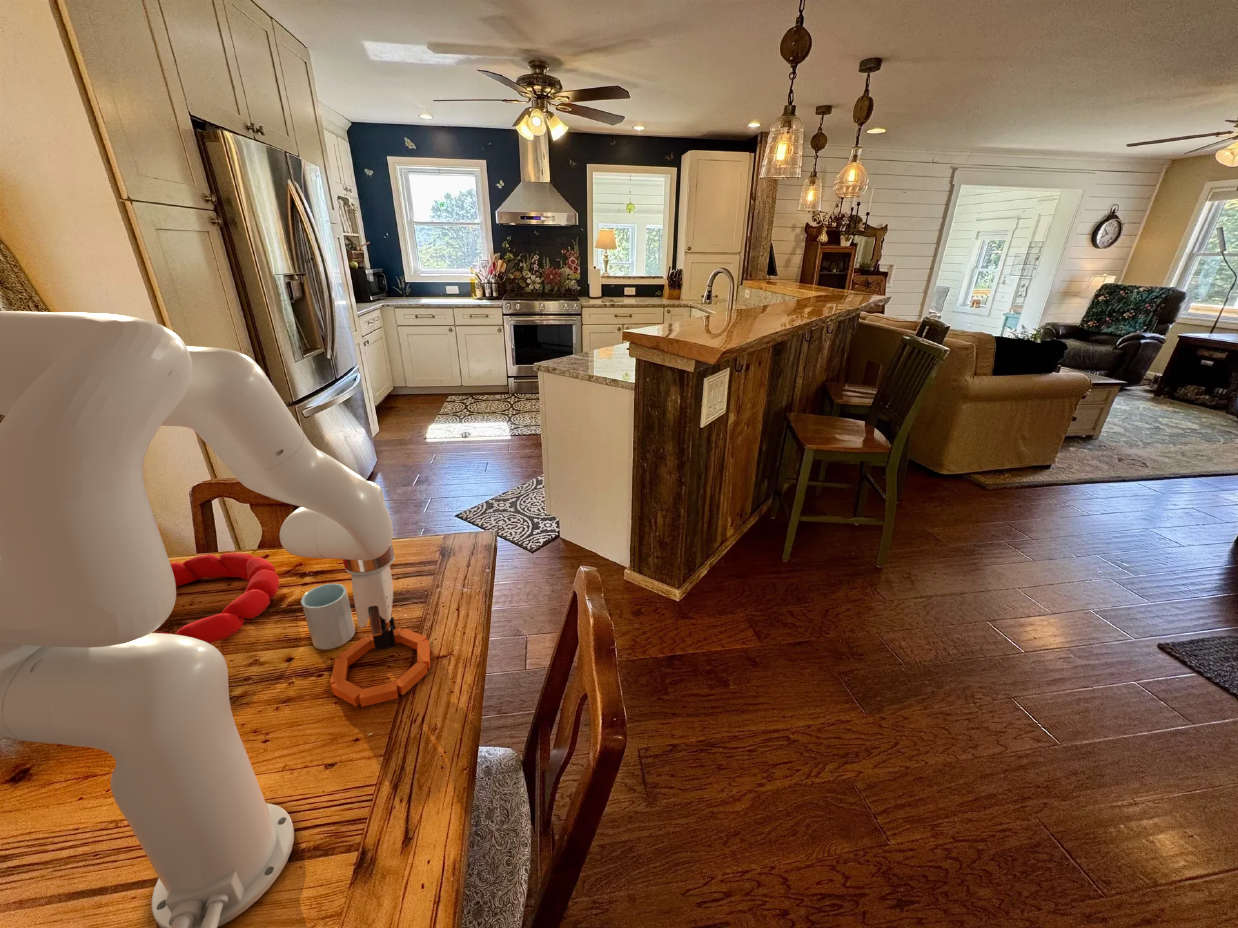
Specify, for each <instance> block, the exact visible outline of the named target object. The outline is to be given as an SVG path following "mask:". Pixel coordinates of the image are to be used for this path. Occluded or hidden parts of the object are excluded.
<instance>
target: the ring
mask: <svg viewBox="0 0 1238 928" xmlns="http://www.w3.org/2000/svg"><path fill="white" fill-rule="evenodd" d="M393 632H394V637H395V642H396V643H395V645H396V644H402V645H405V646H407V647H409V648H411V649H413V650H416V652H417V654H416V662H415V664H413V665H412V666H411V667H409V669H408V670H406V671H405V672H404V673H403V674H402V675H401V676H400V677H399V678H397V679H396V680H395V681H391V682H388V683H382V684H379V685H375V686H370V687H365V688H362V687H359V686H358V685H356V684H354V683H352V682H350V681H348V680H347V679H348V678H347V677H348V673H349V668H350V666H351V665H352V664H354V663H355V662H356V661H358V660H359V659H360V658H362V657H363V656H364V655H365V654H367V653H368V652H369V651H370V650H372V649H375V644H374V639H373V635H372V633H368V637H367V636H363V637H361V638H360V639H359V640H358V641H356V642H355V643H354V644H352V645H351V646H349V647H347V649H345V650H344V651H343V652H341V653H340V654H338V655H337V657H338V658H335V660H334V663H333V668H332V670H331V671H332V672H331V676H330V681H329V685H330V690H331V691H332V694H333V695H334V696H336V697H337V698H339V699H341V700H343V701H345V702H347V703H348V704H350V705H352V706H354V707H358V706H359V705H360V707H361V708H365V707H367V706H368V707H369V706H371V705H375V704H380V703H384V702H387V701H393V700H397V699H399V694H400V695H402V696H404V695H405V694H407V693H408V692H409V691H410V690H411V689H412V688H413V687H414V686H415V685H416V684H417V683H418V682H420V681H421V680H422V679H423V678H424V677H425V676H426V675H427V674H428V673H429V671H428V670H430V669H431V646H430V640H429V639H428V637H427V636H425V635H421V634H420V633H417V632H415V631H413V630H411V629H408V628H404V629H402V628H401V627H399V628H398V627H397V628H396V629H393Z"/></svg>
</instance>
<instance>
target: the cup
mask: <svg viewBox="0 0 1238 928" xmlns="http://www.w3.org/2000/svg"><path fill="white" fill-rule="evenodd" d="M300 604H301V608H302V611H303V616H304V618H305V619H304V620H305V622H306V626H307V629H308V632H309V636H310V640H311V642H312V645H313V647H314V648H316V649H318V650H332V649H335V648H339V647H342V646H344V644H346V643H347V642H349V641H350V640H352V638H353V637H354V636H355V633H356V626H355V622H354V621H355V620H354V617H353V612H352V609H351V604H350V599H349V595H348V591H347V588H346V586H345V585H344V584H341V583H335V582H333V583H326V584H321V585H318V586H315V587H314V588H311V589H310V590H308V591H306V593H304V595H302V597H301V600H300Z"/></svg>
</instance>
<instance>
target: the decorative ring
mask: <svg viewBox="0 0 1238 928" xmlns="http://www.w3.org/2000/svg"><path fill="white" fill-rule="evenodd" d="M170 564H171V567H172V570H173V574H174V578H175V584H176V588H178V587H181V586H184V585H187V584H190V583H193V582H195V581H199V580H202V579H205V578H206V579H216V578H218V579H219V578H240V579H243V580H245V581H247V582H248V585H247V586H246V588H245V591H244V593H242V594H241V595H239V596H237V597H236V598H235V599H234V600H233V601H231V602H230V603H228V605H226V606H225V607H224V608H223V610H222V611H221V612H220V613H217V614H213V615H210V616H206V617H203V618H200V619H198V620H195V621H192V622H190V623H187V624H185V625H183V626H182V627H180V628H179V629H177V631H176V633H175V635H182V636H187V637H192V638H196V639H199V640H202V641H205V642H207V643H209V644H212V643H215V642H220V641H222V640H226V639H228V638H229V637H231V636H233V635H234V634H236V633H237V632H238V631H239V630H240V629H242V627H243V625H244V623H245V621H246V620H245V619H248V620H250V619H254V618H256V617H259V616H260V615H261V614H262V613H263V612H264V611H265V610H266V609H267V608H268V607H269V605H271V599H273V598H274V597H275V596H276V595H277V592H278V590H279V586H280V577H279V574H277V573H276V568H275V566H274V565H273V564H272V563H271V562H269V561H268V560H267V559H265V558H264V557H261V556H254V555H251V554H248V553H242V552H224V553H222V554H220V556H219V557H218V556H216V555H214V554H204V555H198V556H194V557H192V558H189V559H185V560H184V561H183V562H178V561H175V562H170ZM161 633H162V634H172V633H171V632H170V633H169V632H161Z"/></svg>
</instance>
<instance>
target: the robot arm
mask: <svg viewBox="0 0 1238 928" xmlns="http://www.w3.org/2000/svg"><path fill="white" fill-rule="evenodd" d="M0 415H1V416H4V418H3V419H2V420H1V422H0V737H4V738H7V739H11V740H15V741H23V742H29V743H30V742H31V743H39V744H40V743H42V744H53V745H55V744H56V745H63V746H64V745H65V746H72V747H81V748H91V749H95V750H96V749H97V750H101V751H103V752H106V753H107V754H109V755H110V756H112V757H113V759H114V762H115V767H114V769H113V770H112V773H111V777H110V791H111V794H112V797H113V800H114V801H115V804H116V806H117V807H118V809H119V811H120V812H121V814H122V816H123V817H124V818H125V821H126V823H127V825H128V826H129V828H130V829H131V831H132V832H133V835H134V837H135V838H136V840H137V842H138V843H139V845H140V847H141V849H142V850H143V852H144V855H145V856H146V858H147V859H148V861H149V862H150V864H151V866H152V868H153V870H154V871H155V873H156V875H157V877H158V878H157V881H156V883H155V886H154V888H153V893H152V896H151V912H152V916H153V918H154V920H155V922H156V923H157V925H158V927H159V928H219V927H221V926H223V925H224V924H226V923H229V922H231V921H233V920H234V919H235V918H236V917H238V916H239V915H241V914H243V913H245V911H246V910H248V909H249V908H250V907H251V906H252V905H254V904H255V903H256V902H257V901H258V900H259V899H260V898H262V896H263V895H264V894H265V893H266V892H267V891H268V890H269V889H270V888H271V886H272V885H273V883H275V881H276V880H277V878H278V877H279V876H280V874H281V873H282V871H283V869H284V868H285V866H286V864H287V863H288V860H289V857H290V855H291V853H292V850H293V846H294V841H295V828H294V825H293V821H292V819H291V817H290V814H289V813H288V812H287V811H286V810H285V809H284V808H283V807H281V806H280V805H277V804H273V803H268V802H266V799H265V797H264V794H263V792H262V788H261V787H260V784H259V781H258V778H257V776H256V773H255V771H254V768H253V766H252V763H251V760H250V758H249V756H248V753H247V750H246V748H245V745H244V743H243V741H242V738H241V735H240V733H239V730H238V727H237V724H236V722H235V719H234V715H233V711H232V706H231V702H230V700H231V699H230V689H229V687H230V686H229V671H228V670H229V669H228V665H227V661H226V659H225V657H224V655H223V654H222V652H221V651H220V650H219V649H218V648H217V647H215V646H214V645H212V643H207V642H205V641H202V640H199V639H196V638H192V637H187V636H182V635H176V634H174V633H171V634H162V633H163V632H155V631H156V630H158V629H159V628H161V626H162V625H163V624H164V623H165V622H166V620H168V618H169V617H170V616H171V614H172V612H173V610H174V607H175V604H176V599H177V587H176V584H175V578H174V574H173V570H172V567H171V564H170V563H171V561H170V558H169V556H168V553H167V549H166V547H165V544H164V541H163V539H162V535H161V532H160V530H159V527H158V524H157V522H156V518H155V516H154V513H153V510H152V506H151V504H150V501H149V497H148V493H147V490H146V486H145V481H144V472H143V471H144V470H143V469H144V464H145V457H146V454H147V452H148V449H149V446H150V445H151V442H152V441H153V439H154V438H155V436H156V434H157V432H158V431H159V429H160V428H161V427H182V428H183V427H185V428H189V429H190V430H192V431H194V432H195V433H196V434H197V435H198V437H200V438H201V440H202V441H203V442H204V443H206V445H207V446H208V447H209V448H210V449H211V450H212V452H213V453H214V454H215V455H216V456H217V457H218V459H219V460H220V461H221V462H222V463H223V464H224V465H225V466H226V468H227V469H228V470H229V471H230V472H231V474H232V475H233V476H234V477H235V479H237V480H238V482H239V483H240V484H241V485H243V486H244V487H245V488H247V489H248V490H250V491H252V492H255V493H257V494H259V495H262V496H265V497H267V498H269V499H273V500H275V501H279V502H282V503H285V504H289V505H291V506H292V505H293V506H296V507H298V508H297V509H295V510H294V511H293V512H291V513H290V514H289V515H288V516H287V517H286V518H285V519H284V521H283V523H282V524H281V526H280V530H279V542H280V545H281V546H282V548H283V549H284V550H285V551H286V552H287V553H289V554H291V555H293V556H296V557H302V558H311V559H327V560H328V559H329V560H330V559H333V560H342V561H343V567H344V570H345V572H346V573H348V574H349V575H351V589H352V595H353V596H352V597H353V602H354V607H355V614H356V615H355V616H356V620H357V625H358V627H359V628H360V629H363V628H366V627H367V625H368V622H369V625H370V629H371V634H372V635H373V639H374V644H375V648H374V649H375V650H376V651H379V650H384V649H388V648H394V647H395V646H396V644H397V643H396V642H395V637H394V632H393V629H397V628H396V624H395V619H394V616H393V602H394V583H393V577H392V571H391V565H392V564H393V563H394V562H395V559H396V557H395V555H396V554H395V551H394V550H395V549H394V546H393V545H394V544H393V539H394V538H393V537H394V526H393V521H392V517H391V514H390V513H389V510H388V508H387V506H386V501H385V495H384V491H383V489H382V487H381V486H380V485H379V484H378V483H376V482H374V481H371V480H366V479H365V478H364V476H362V475H360V474H359V473H357V472H356V471H354V470H352V469H351V468H349V467H348V466H346V465H345V464H344V463H342V462H340V461H339V460H337V459H335V458H334V457H332V456H331V455H329V454H327V453H325V452H324V451H322V450H321V449H320V450H319V448H316V447H315V446H314V445H313V444H312V443H311V441H310V440H309V438H308V437H307V435H306V434H305V432H304V431H303V429H302V428H301V426H300V425H299V423H298V422H297V420H296V418H295V417H294V416H293V413H291V411H290V410H289V408H288V406H287V405H286V403H285V402H284V400H283V399H282V397H281V396H280V394H279V392H278V391H277V390H276V388H275V386H274V385H273V384H272V382H271V381H270V379H269V377H268V376H267V375H266V373H265V371H264V370H263V368H261V366H260V365H259V364H258V363H257V362H256V361H255V360H253V359H252V358H251V357H249V356H247V355H245V354H244V353H242V352H239V351H236V350H233V349H228V348H222V347H213V346H195V345H194V346H193V345H192V346H190V345H186V343H185V342H184V340H183V339H182V338H181V337H180V336H179V335H178V334H177V333H176V332H175V331H172V330H171V329H170V328H168V327H166V326H164V325H162V324H160V323H157V322H154V321H150V320H147V319H144V318H140V317H135V316H128V315H120V314H111V313H93V312H46V311H43V312H42V311H17V310H15V311H14V310H1V311H0ZM395 643H396V644H395Z"/></svg>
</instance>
